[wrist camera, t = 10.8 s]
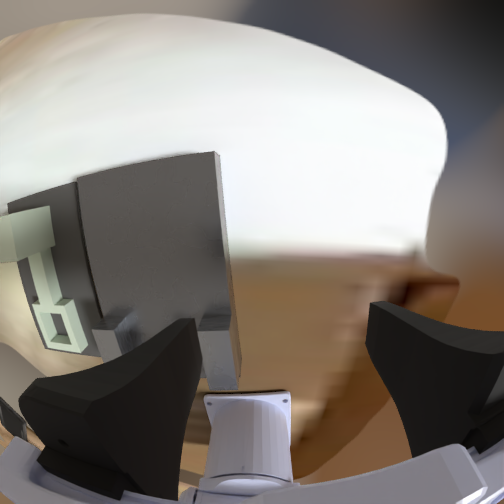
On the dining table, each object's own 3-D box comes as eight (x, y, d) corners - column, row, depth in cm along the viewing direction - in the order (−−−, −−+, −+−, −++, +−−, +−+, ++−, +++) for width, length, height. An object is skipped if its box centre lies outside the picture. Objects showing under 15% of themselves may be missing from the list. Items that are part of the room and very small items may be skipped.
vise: (241, 358, 22) (237, 414, 15) (133, 357, 22) (105, 403, 16) (219, 155, 18) (201, 141, 12) (95, 177, 18) (40, 179, 12)
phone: (1, 424, 30) (-5, 397, 26) (3, 422, 31) (-2, 393, 27) (26, 447, 31) (24, 425, 27) (28, 444, 32) (26, 421, 28)
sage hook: (88, 344, 22) (62, 374, 17) (55, 340, 22) (29, 365, 17) (54, 204, 18) (14, 212, 13) (22, 212, 18) (-15, 222, 14)
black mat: (115, 356, 22) (114, 358, 22) (47, 347, 23) (45, 348, 22) (76, 182, 18) (73, 182, 18) (10, 203, 19) (7, 203, 18)
